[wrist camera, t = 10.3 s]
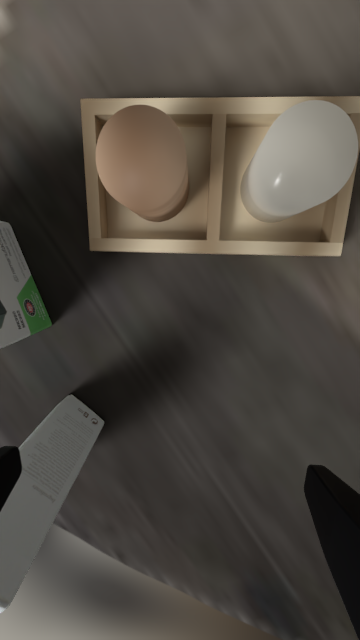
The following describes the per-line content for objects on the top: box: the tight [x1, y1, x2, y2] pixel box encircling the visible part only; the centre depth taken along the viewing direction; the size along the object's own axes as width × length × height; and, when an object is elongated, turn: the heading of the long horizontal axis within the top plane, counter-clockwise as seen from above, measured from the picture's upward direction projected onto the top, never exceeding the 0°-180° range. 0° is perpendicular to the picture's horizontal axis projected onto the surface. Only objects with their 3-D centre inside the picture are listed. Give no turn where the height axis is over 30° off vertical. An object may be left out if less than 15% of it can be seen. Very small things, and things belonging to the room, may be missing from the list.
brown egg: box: [96, 105, 189, 222], centre depth 14 cm, size 4×4×5 cm
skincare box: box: [0, 395, 104, 613], centre depth 16 cm, size 6×4×12 cm
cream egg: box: [240, 100, 358, 223], centre depth 14 cm, size 4×4×5 cm
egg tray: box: [80, 96, 360, 256], centre depth 16 cm, size 16×9×2 cm, turn 89°
